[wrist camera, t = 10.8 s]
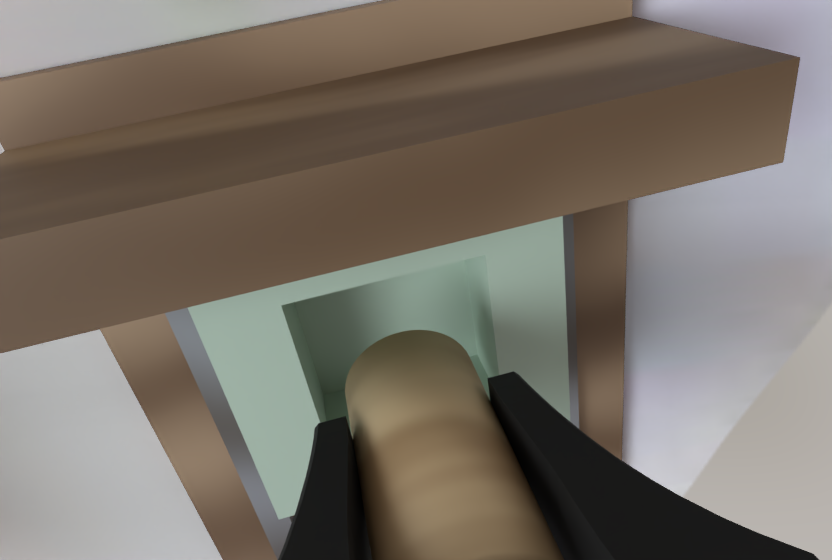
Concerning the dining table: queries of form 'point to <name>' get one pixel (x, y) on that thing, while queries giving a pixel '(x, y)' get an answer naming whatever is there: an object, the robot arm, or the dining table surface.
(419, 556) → the oak dowel
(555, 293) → the sage socket block
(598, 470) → the robot arm
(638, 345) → the dining table surface
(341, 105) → the walnut board
